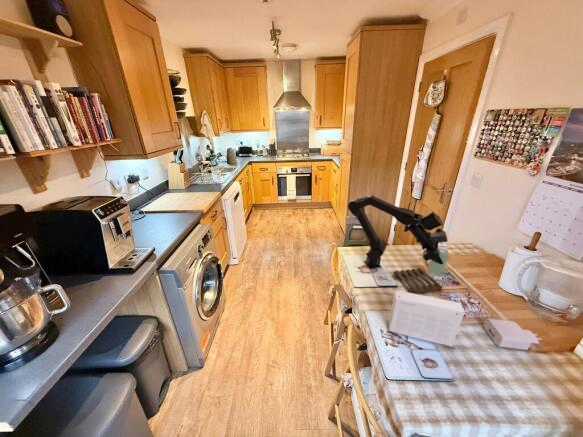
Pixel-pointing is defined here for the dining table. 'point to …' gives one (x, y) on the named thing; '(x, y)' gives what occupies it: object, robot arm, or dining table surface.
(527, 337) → the charger
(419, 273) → the rack
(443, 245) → the syrup box
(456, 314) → the skincare box
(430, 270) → the green rectangular box
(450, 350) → the dining table surface
